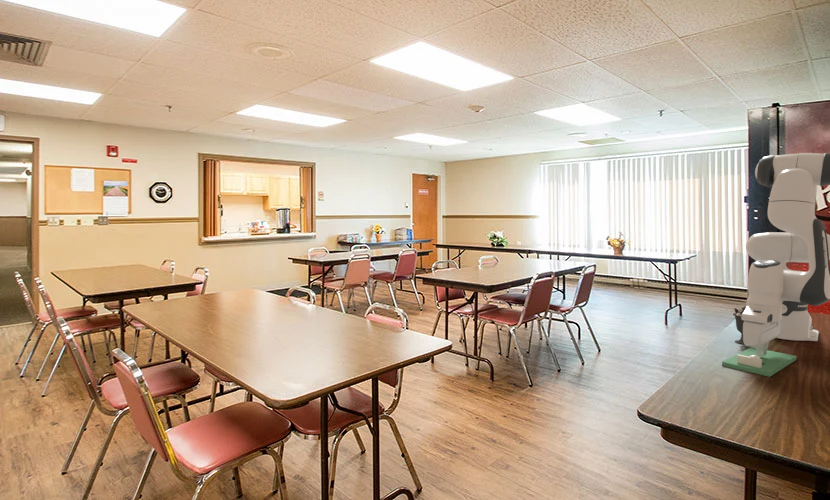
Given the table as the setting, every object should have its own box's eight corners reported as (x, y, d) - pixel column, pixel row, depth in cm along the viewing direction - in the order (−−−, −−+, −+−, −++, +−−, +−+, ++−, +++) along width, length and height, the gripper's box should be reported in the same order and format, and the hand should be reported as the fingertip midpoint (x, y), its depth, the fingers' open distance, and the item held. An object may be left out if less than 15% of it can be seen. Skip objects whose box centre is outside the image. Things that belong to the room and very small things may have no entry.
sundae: (758, 345, 156) (761, 303, 154) (737, 345, 157) (739, 303, 156) (748, 340, 162) (750, 300, 161) (728, 339, 163) (729, 299, 162)
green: (751, 350, 151) (751, 340, 151) (796, 359, 141) (797, 348, 141) (722, 365, 137) (722, 354, 137) (769, 376, 127) (770, 364, 127)
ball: (750, 357, 139) (748, 351, 137) (763, 360, 136) (760, 354, 135) (747, 366, 138) (745, 360, 136) (760, 368, 135) (757, 363, 133)
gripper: (763, 305, 147) (761, 346, 149) (739, 315, 135) (737, 359, 137) (787, 309, 142) (785, 351, 143) (764, 319, 130) (761, 365, 132)
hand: (761, 355), depth 140 cm, fingers closed
